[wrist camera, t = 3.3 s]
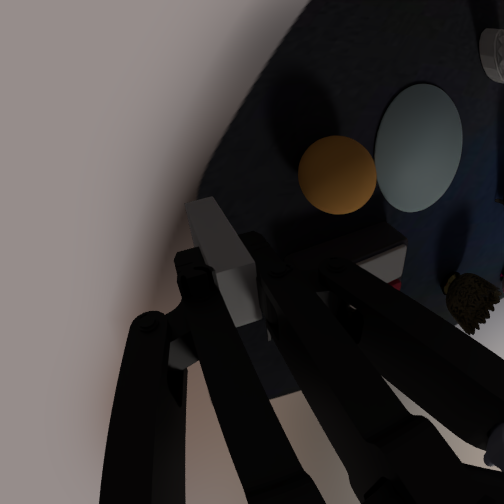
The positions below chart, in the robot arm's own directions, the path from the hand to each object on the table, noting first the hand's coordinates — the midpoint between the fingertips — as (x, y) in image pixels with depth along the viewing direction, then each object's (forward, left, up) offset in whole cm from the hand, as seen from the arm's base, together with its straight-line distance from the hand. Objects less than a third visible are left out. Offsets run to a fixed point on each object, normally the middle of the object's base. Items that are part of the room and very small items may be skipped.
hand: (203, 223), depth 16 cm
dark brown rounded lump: (-28, +25, -6) cm, 38 cm away
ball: (-10, +2, -3) cm, 10 cm away
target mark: (-21, +4, -6) cm, 23 cm away
